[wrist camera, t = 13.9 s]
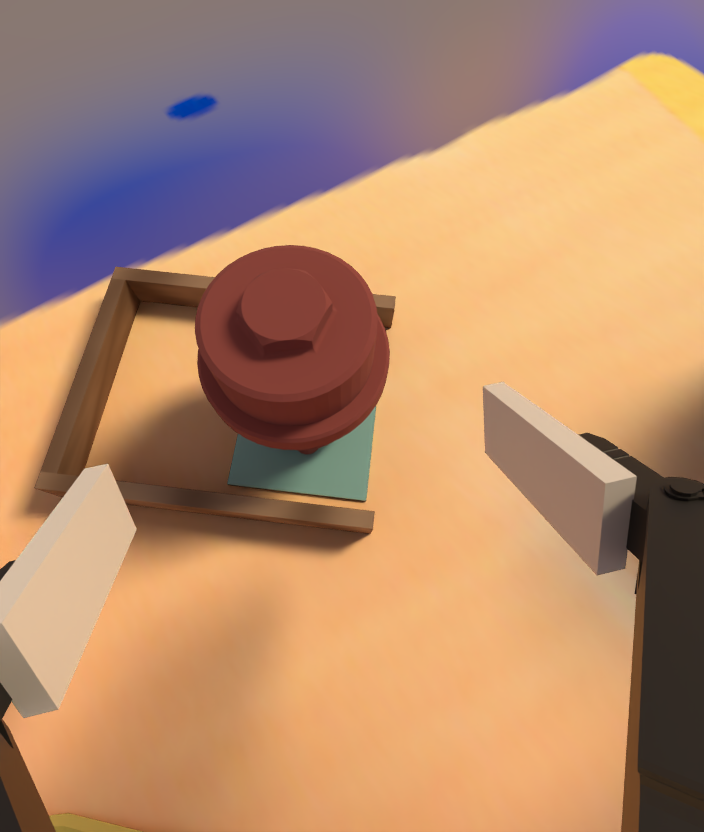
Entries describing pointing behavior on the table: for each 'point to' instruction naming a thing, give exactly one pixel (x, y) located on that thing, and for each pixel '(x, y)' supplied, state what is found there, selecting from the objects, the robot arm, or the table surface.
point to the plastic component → (84, 824)
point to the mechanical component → (291, 347)
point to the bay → (252, 463)
